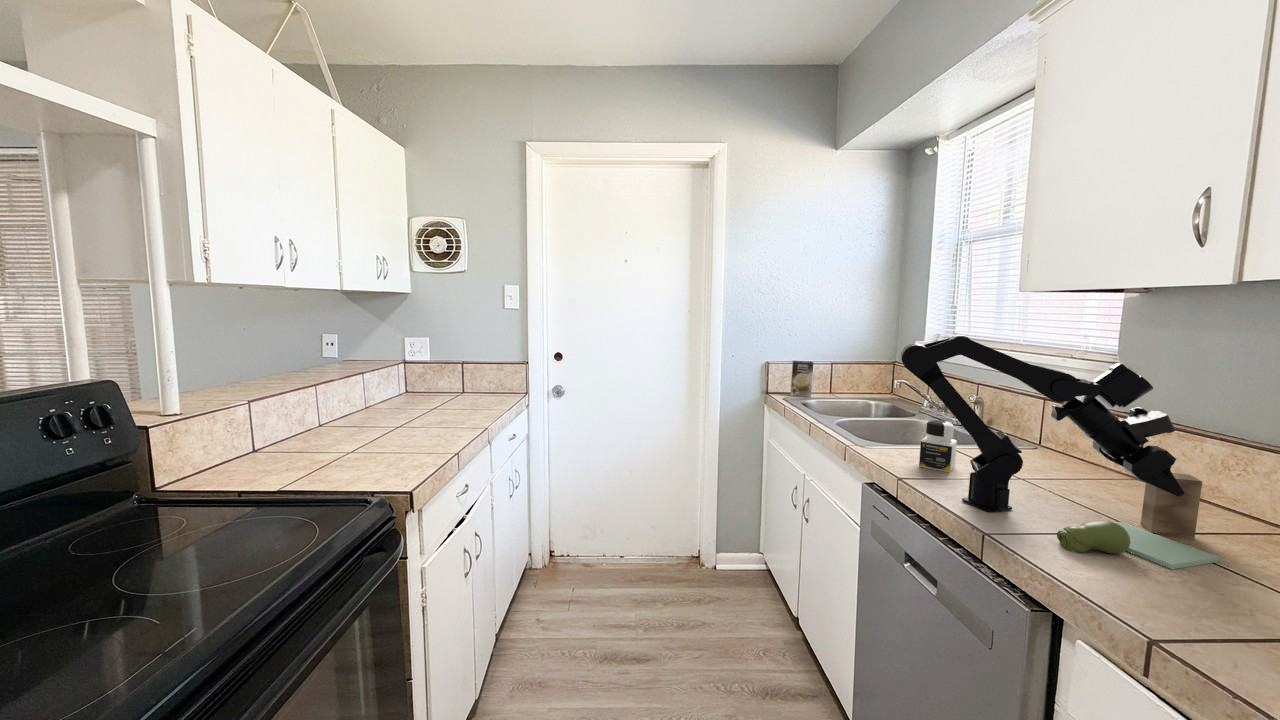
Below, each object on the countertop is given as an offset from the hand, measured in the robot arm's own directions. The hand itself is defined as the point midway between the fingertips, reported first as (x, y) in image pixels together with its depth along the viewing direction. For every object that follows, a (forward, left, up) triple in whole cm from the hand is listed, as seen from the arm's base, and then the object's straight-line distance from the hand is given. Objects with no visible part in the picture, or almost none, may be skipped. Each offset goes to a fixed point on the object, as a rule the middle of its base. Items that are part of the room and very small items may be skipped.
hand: (1168, 486), depth 95 cm
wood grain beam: (0, 0, -9) cm, 9 cm away
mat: (+3, -11, -9) cm, 14 cm away
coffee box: (-141, +11, -9) cm, 142 cm away
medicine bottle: (-42, -11, -9) cm, 44 cm away
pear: (+2, -21, -9) cm, 23 cm away
